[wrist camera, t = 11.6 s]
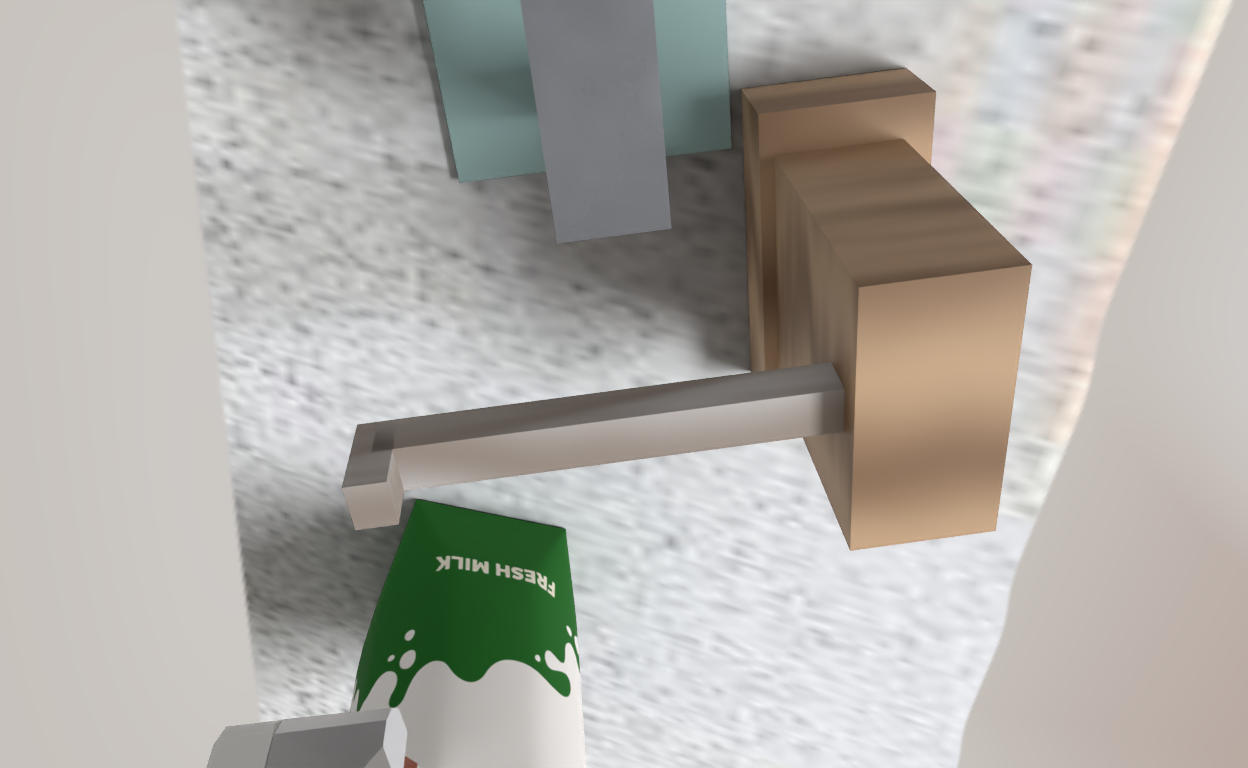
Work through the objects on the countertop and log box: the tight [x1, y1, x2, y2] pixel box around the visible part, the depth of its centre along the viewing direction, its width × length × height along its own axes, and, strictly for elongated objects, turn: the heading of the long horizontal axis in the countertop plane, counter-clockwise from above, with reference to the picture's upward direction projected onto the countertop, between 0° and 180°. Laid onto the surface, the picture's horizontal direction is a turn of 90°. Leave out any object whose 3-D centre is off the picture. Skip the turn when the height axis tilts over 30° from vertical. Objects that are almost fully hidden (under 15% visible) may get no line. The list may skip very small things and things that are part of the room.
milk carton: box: [350, 499, 586, 768], centre depth 38 cm, size 9×9×20 cm
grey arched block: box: [520, 0, 672, 244], centre depth 28 cm, size 8×3×11 cm, turn 6°
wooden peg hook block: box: [342, 68, 1032, 551], centre depth 33 cm, size 12×20×14 cm, turn 96°
